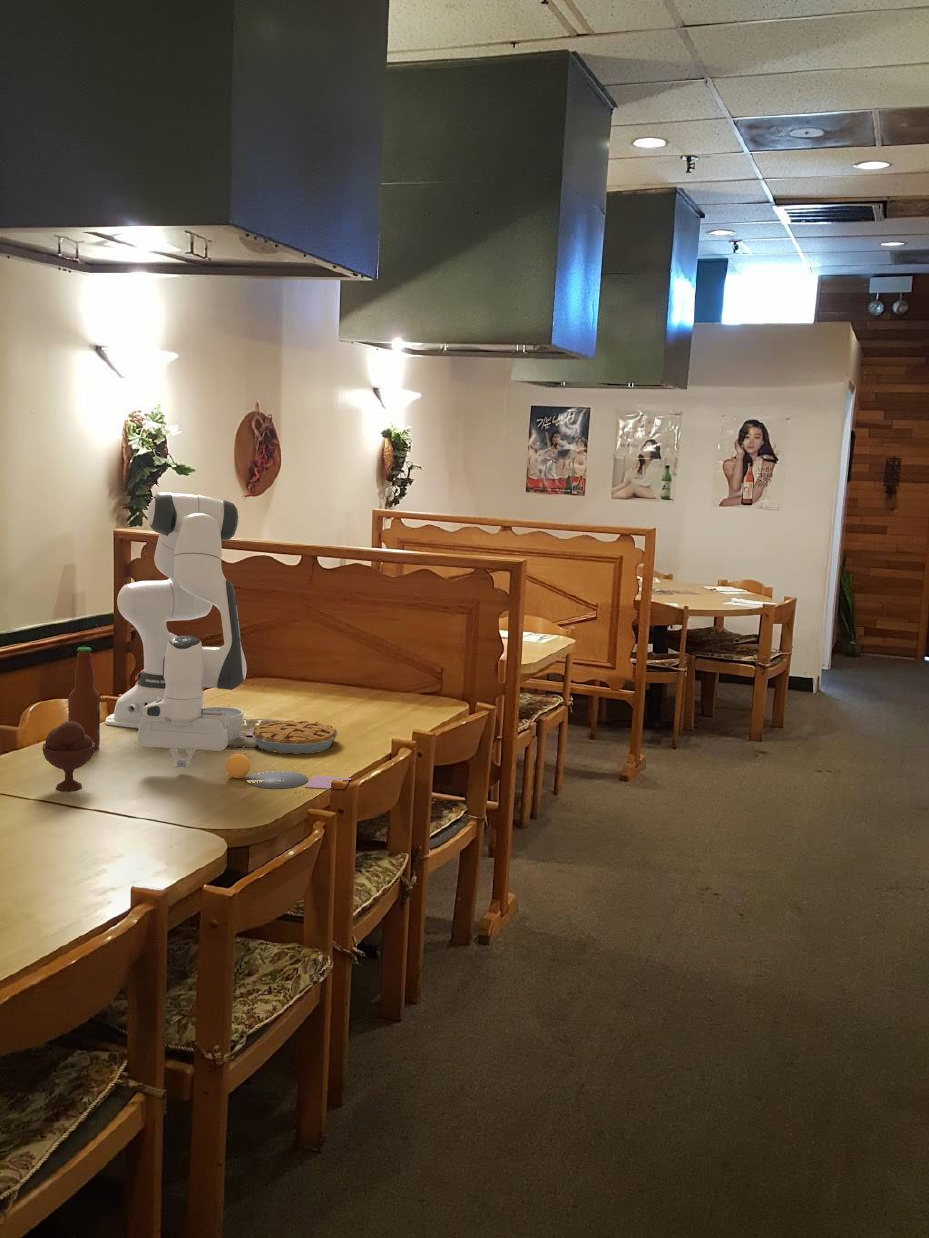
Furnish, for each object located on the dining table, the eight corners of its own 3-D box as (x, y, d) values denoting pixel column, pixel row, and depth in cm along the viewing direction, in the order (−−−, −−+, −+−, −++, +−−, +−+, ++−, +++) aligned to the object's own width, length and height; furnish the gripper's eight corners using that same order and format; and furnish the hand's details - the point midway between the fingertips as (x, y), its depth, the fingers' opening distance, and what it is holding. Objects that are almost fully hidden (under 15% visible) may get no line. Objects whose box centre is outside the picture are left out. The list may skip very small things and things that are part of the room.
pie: (321, 760, 273) (321, 740, 272) (237, 751, 277) (238, 732, 276) (347, 739, 294) (348, 721, 293) (270, 732, 298) (270, 713, 297)
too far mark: (305, 787, 249) (305, 786, 249) (313, 776, 258) (313, 775, 258) (344, 790, 248) (344, 789, 248) (351, 779, 257) (351, 778, 257)
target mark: (238, 786, 247) (238, 785, 247) (254, 769, 261) (254, 768, 261) (300, 790, 246) (300, 789, 246) (313, 773, 260) (313, 772, 260)
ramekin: (217, 747, 280) (217, 720, 279) (179, 738, 286) (180, 712, 286) (253, 737, 291) (253, 711, 290) (216, 729, 298) (217, 704, 297)
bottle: (106, 746, 274) (106, 647, 271) (84, 753, 268) (84, 651, 264) (83, 742, 277) (83, 644, 274) (61, 748, 271) (61, 648, 267)
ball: (236, 785, 251) (217, 769, 251) (241, 780, 256) (223, 764, 256) (252, 767, 250) (233, 751, 250) (257, 762, 256) (239, 746, 256)
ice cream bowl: (105, 784, 244) (106, 717, 242) (72, 797, 233) (72, 728, 231) (65, 777, 247) (65, 712, 245) (31, 790, 237) (30, 722, 235)
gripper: (232, 707, 255) (231, 765, 257) (145, 702, 256) (144, 760, 258) (224, 713, 249) (223, 773, 251) (135, 708, 250) (135, 767, 252)
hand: (182, 766), depth 255 cm, fingers closed
